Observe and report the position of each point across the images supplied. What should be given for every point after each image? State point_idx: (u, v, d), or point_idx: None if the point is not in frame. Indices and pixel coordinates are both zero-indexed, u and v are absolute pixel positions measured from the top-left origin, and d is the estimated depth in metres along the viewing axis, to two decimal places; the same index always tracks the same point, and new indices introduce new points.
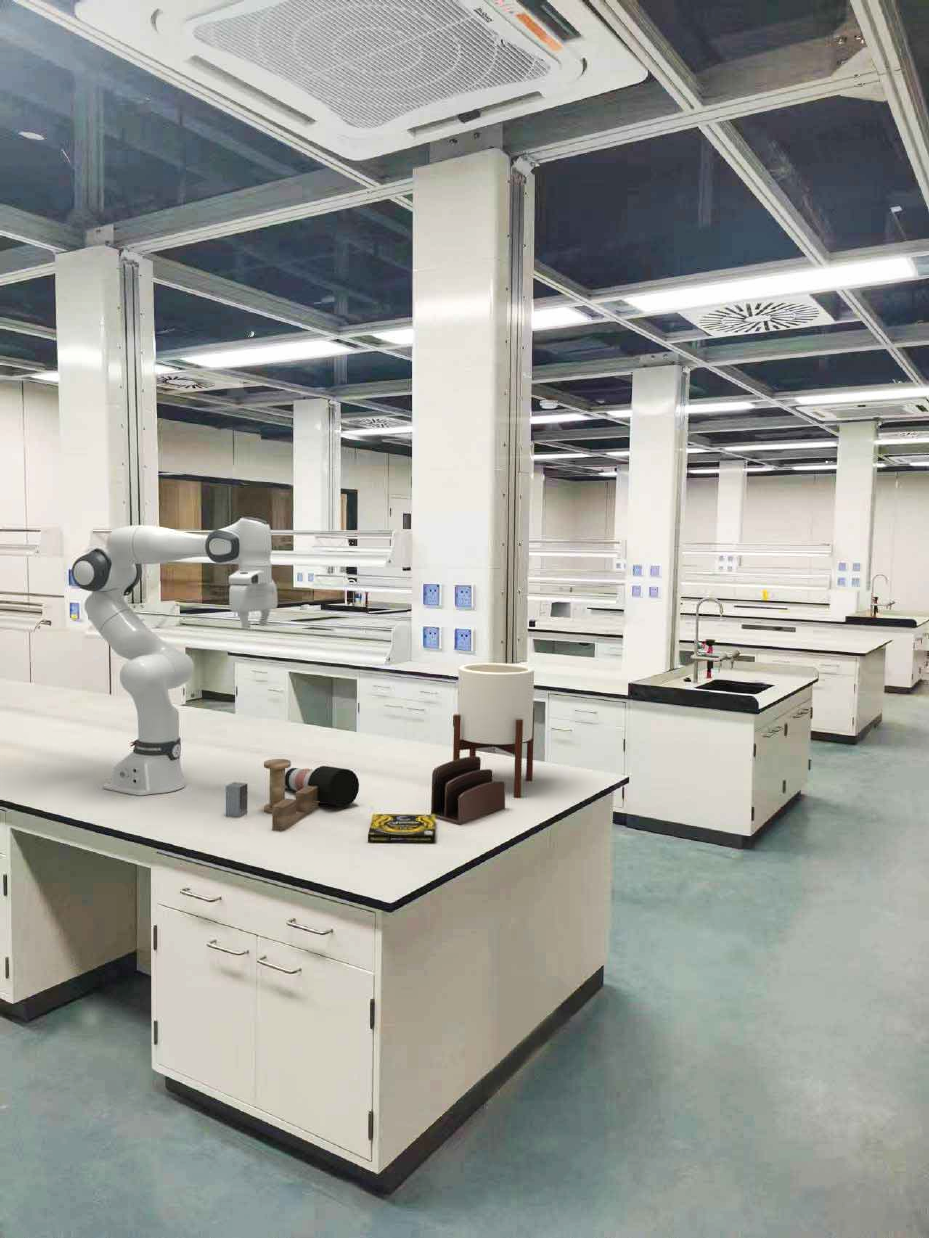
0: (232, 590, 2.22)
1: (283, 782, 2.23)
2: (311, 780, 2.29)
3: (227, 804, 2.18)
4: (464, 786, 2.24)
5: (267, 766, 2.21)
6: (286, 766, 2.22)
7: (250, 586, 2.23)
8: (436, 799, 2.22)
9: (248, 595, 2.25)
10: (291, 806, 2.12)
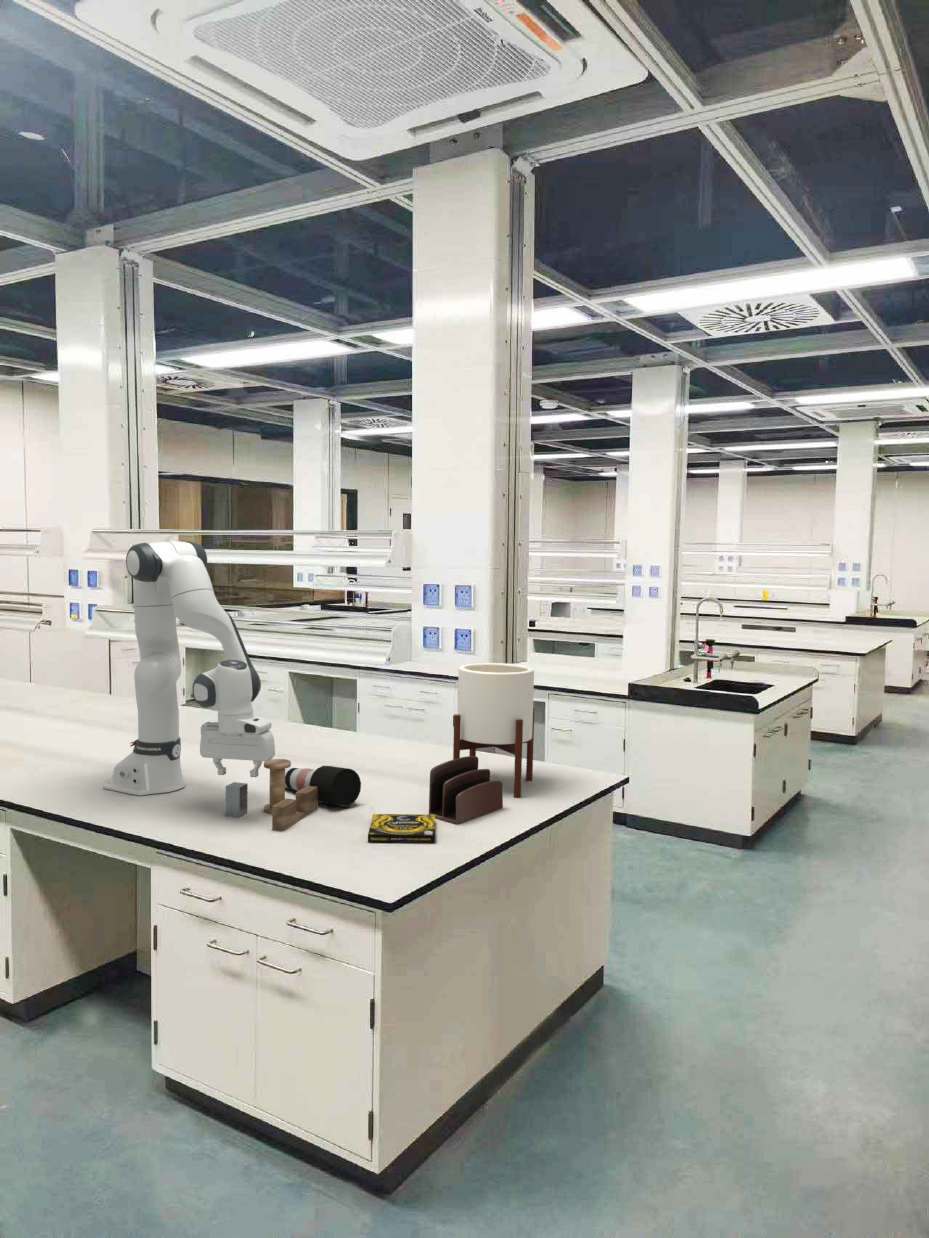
0: (267, 739, 2.14)
1: (283, 782, 2.23)
2: (313, 780, 2.29)
3: (227, 804, 2.18)
4: (462, 786, 2.24)
5: (267, 766, 2.21)
6: (286, 766, 2.22)
7: None
8: (434, 799, 2.22)
9: None
10: (291, 806, 2.12)
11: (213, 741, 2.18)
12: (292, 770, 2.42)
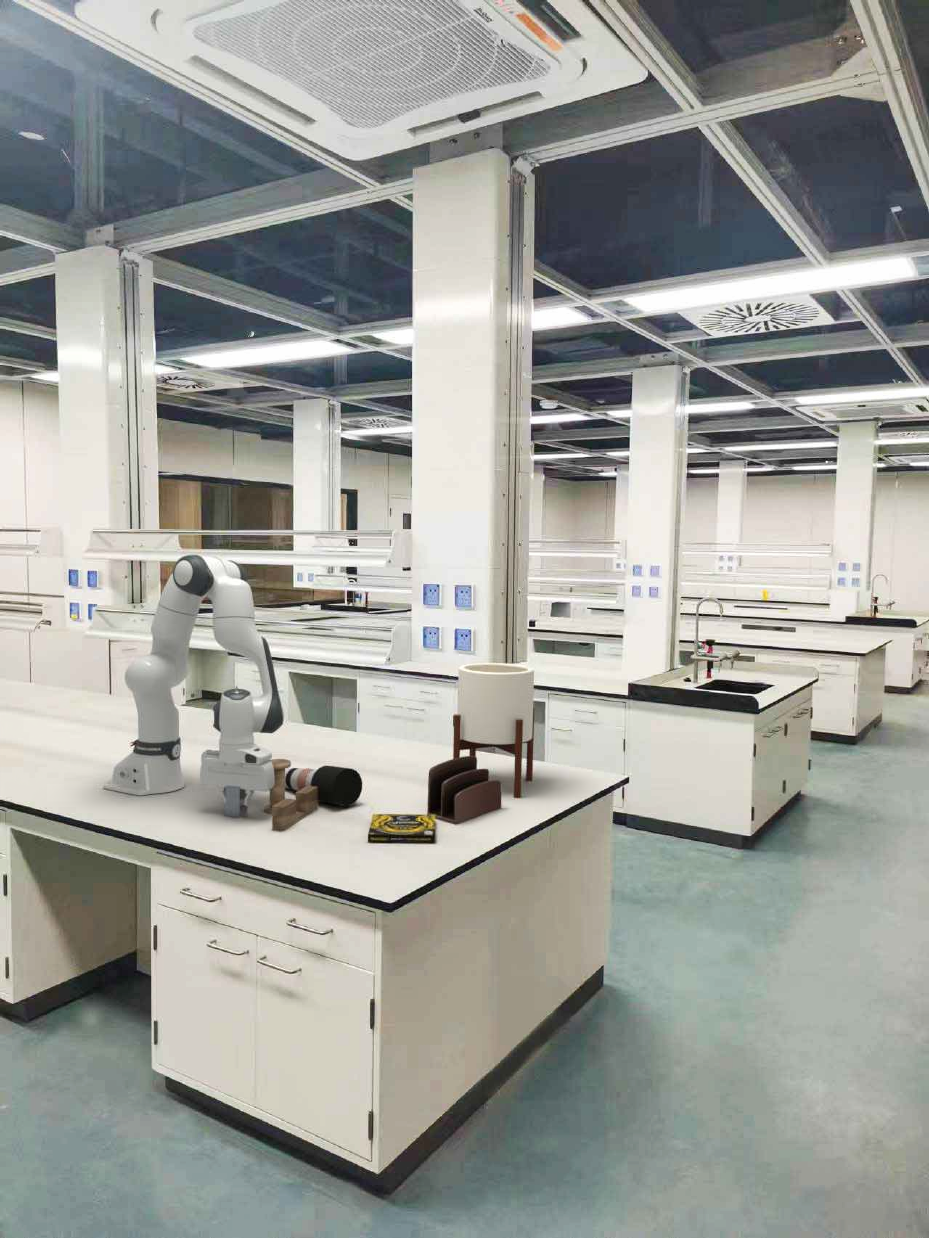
0: (267, 769, 2.15)
1: (283, 782, 2.23)
2: (314, 780, 2.30)
3: (227, 804, 2.18)
4: (460, 785, 2.24)
5: None
6: (286, 766, 2.22)
7: None
8: (432, 798, 2.23)
9: None
10: (291, 806, 2.12)
11: (213, 769, 2.19)
12: (292, 770, 2.42)
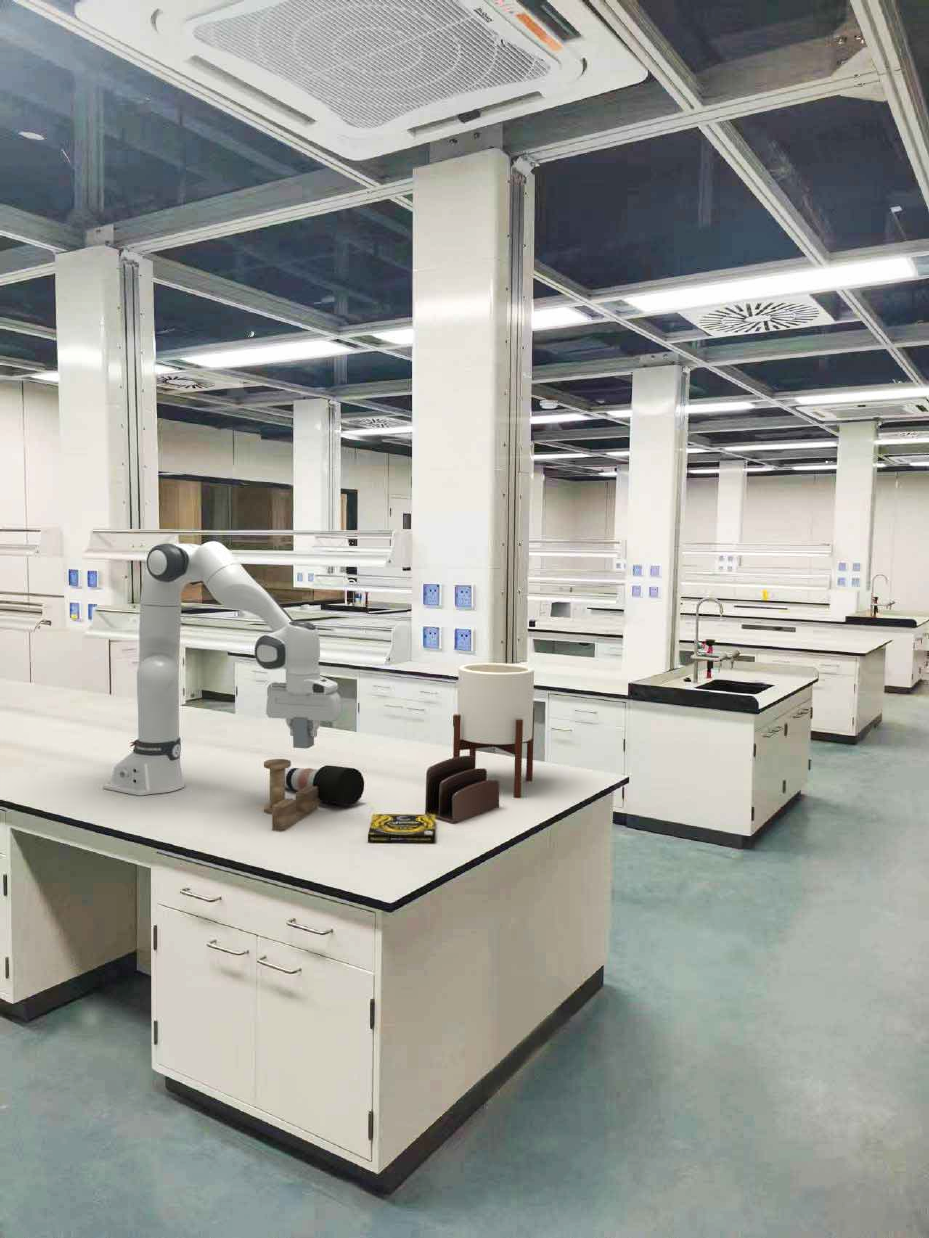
0: (334, 699, 2.16)
1: (283, 782, 2.23)
2: (316, 780, 2.30)
3: (294, 735, 2.19)
4: (458, 785, 2.24)
5: (267, 766, 2.21)
6: (286, 766, 2.22)
7: None
8: (430, 798, 2.23)
9: None
10: (291, 806, 2.12)
11: (280, 701, 2.20)
12: (293, 770, 2.42)
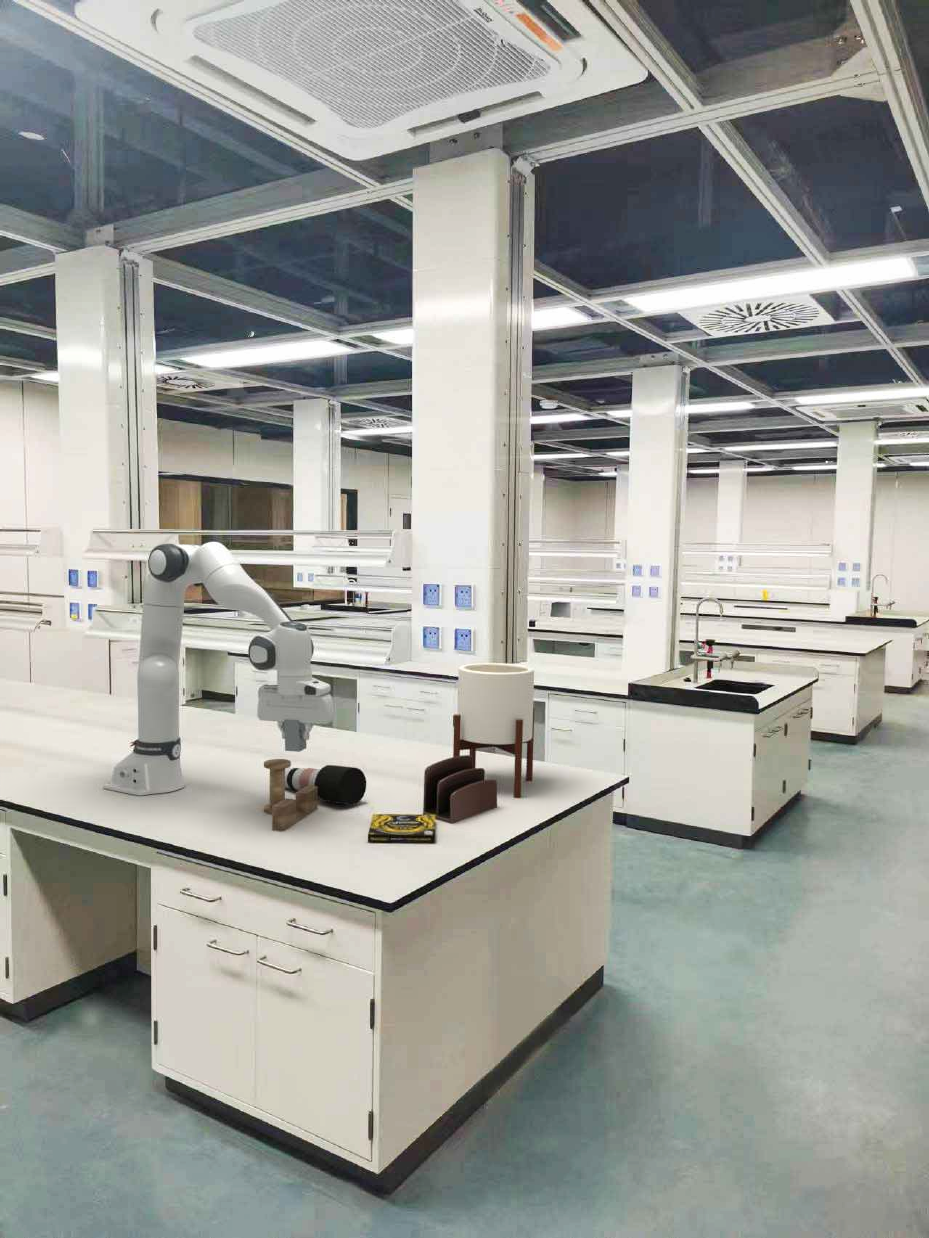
0: (327, 701, 2.11)
1: (283, 782, 2.23)
2: (319, 780, 2.30)
3: (286, 738, 2.14)
4: (456, 785, 2.25)
5: (267, 766, 2.21)
6: (286, 766, 2.22)
7: None
8: (428, 798, 2.23)
9: None
10: (291, 806, 2.12)
11: (271, 703, 2.15)
12: (294, 770, 2.42)
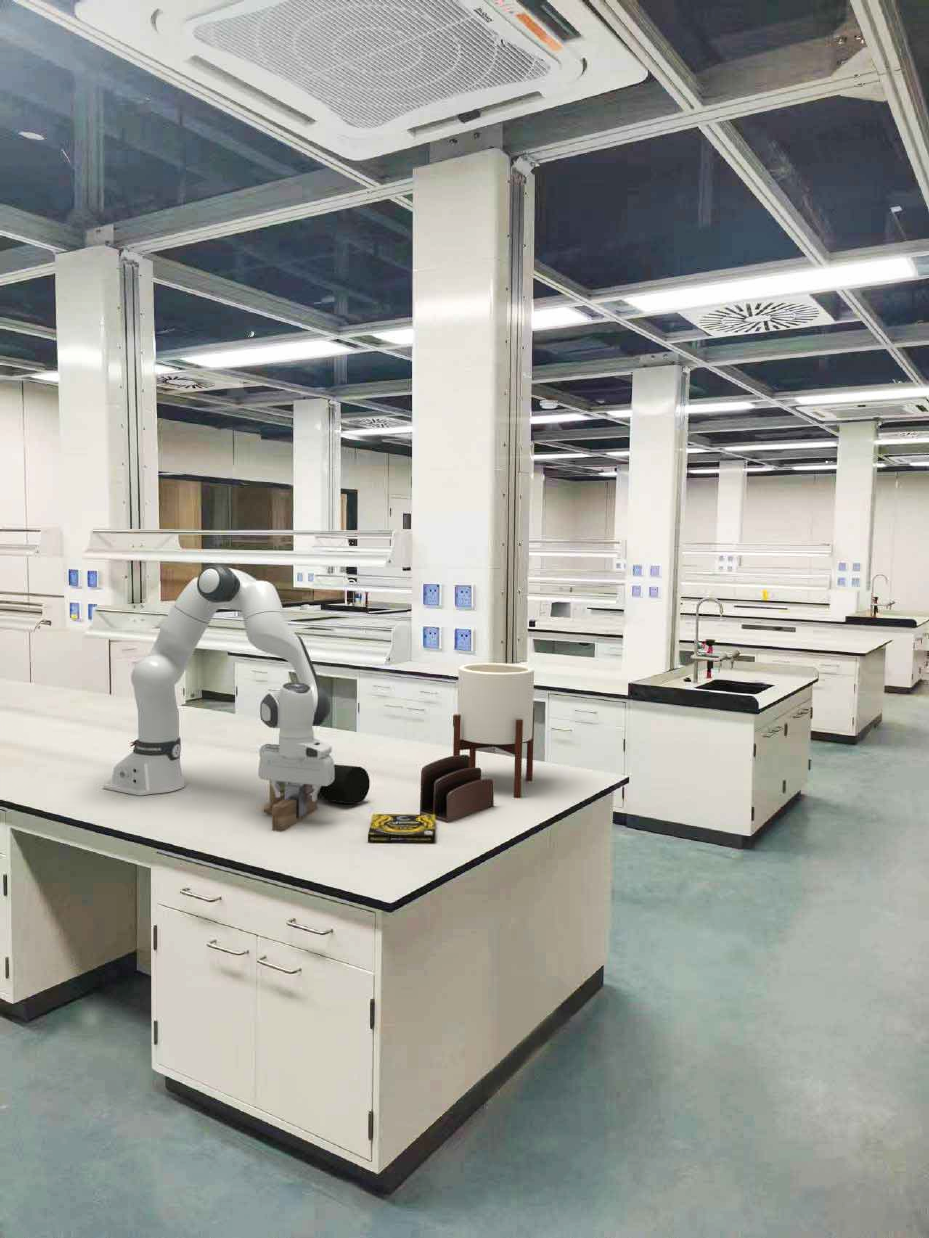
0: (328, 764, 2.13)
1: (283, 782, 2.23)
2: None
3: None
4: (453, 784, 2.25)
5: None
6: None
7: None
8: (425, 797, 2.24)
9: None
10: (291, 806, 2.12)
11: (273, 763, 2.17)
12: None
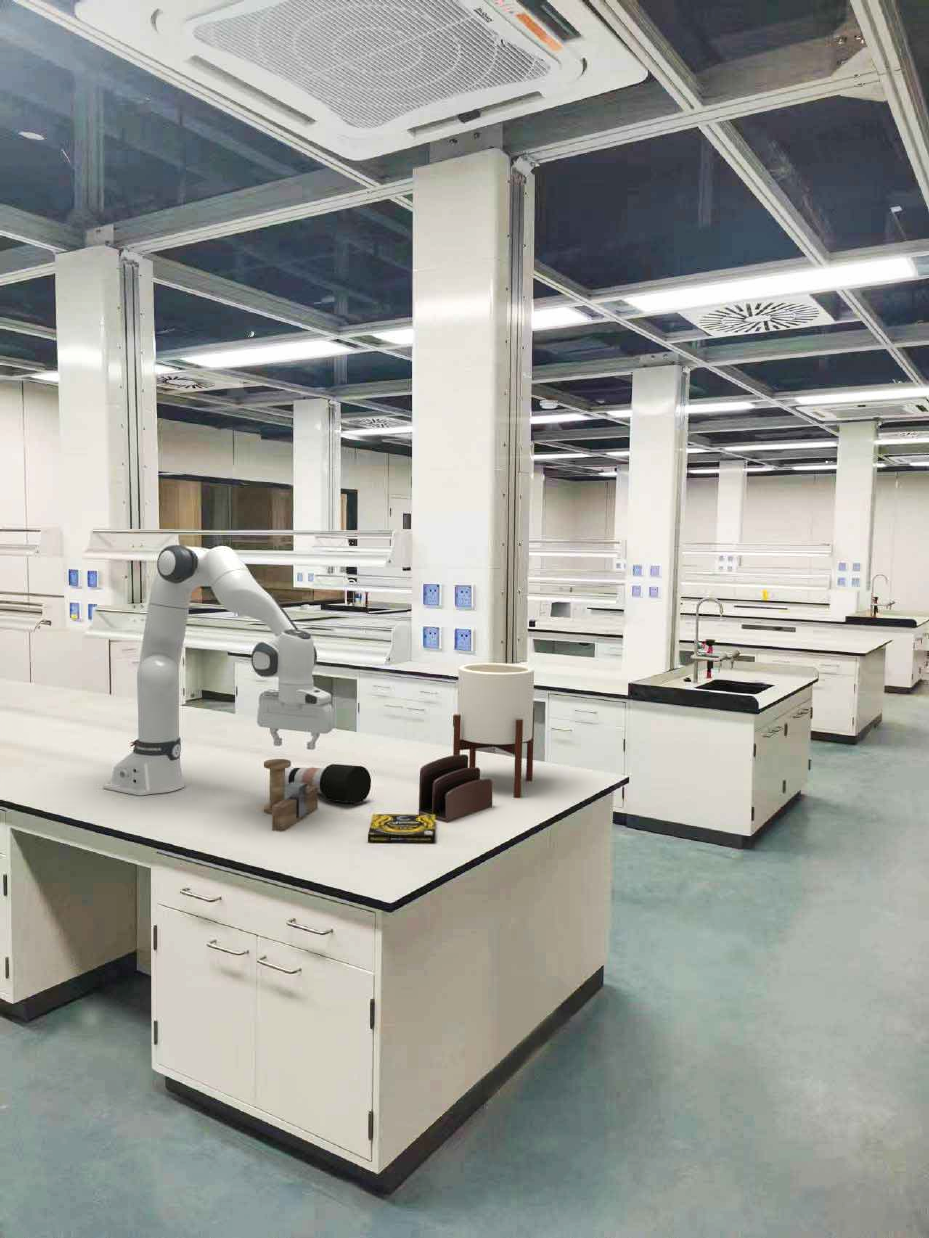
0: (327, 711, 2.11)
1: (283, 782, 2.23)
2: (324, 779, 2.31)
3: None
4: (452, 784, 2.25)
5: (267, 766, 2.21)
6: (286, 766, 2.22)
7: None
8: (424, 797, 2.24)
9: None
10: (291, 806, 2.12)
11: (272, 710, 2.15)
12: (295, 770, 2.42)
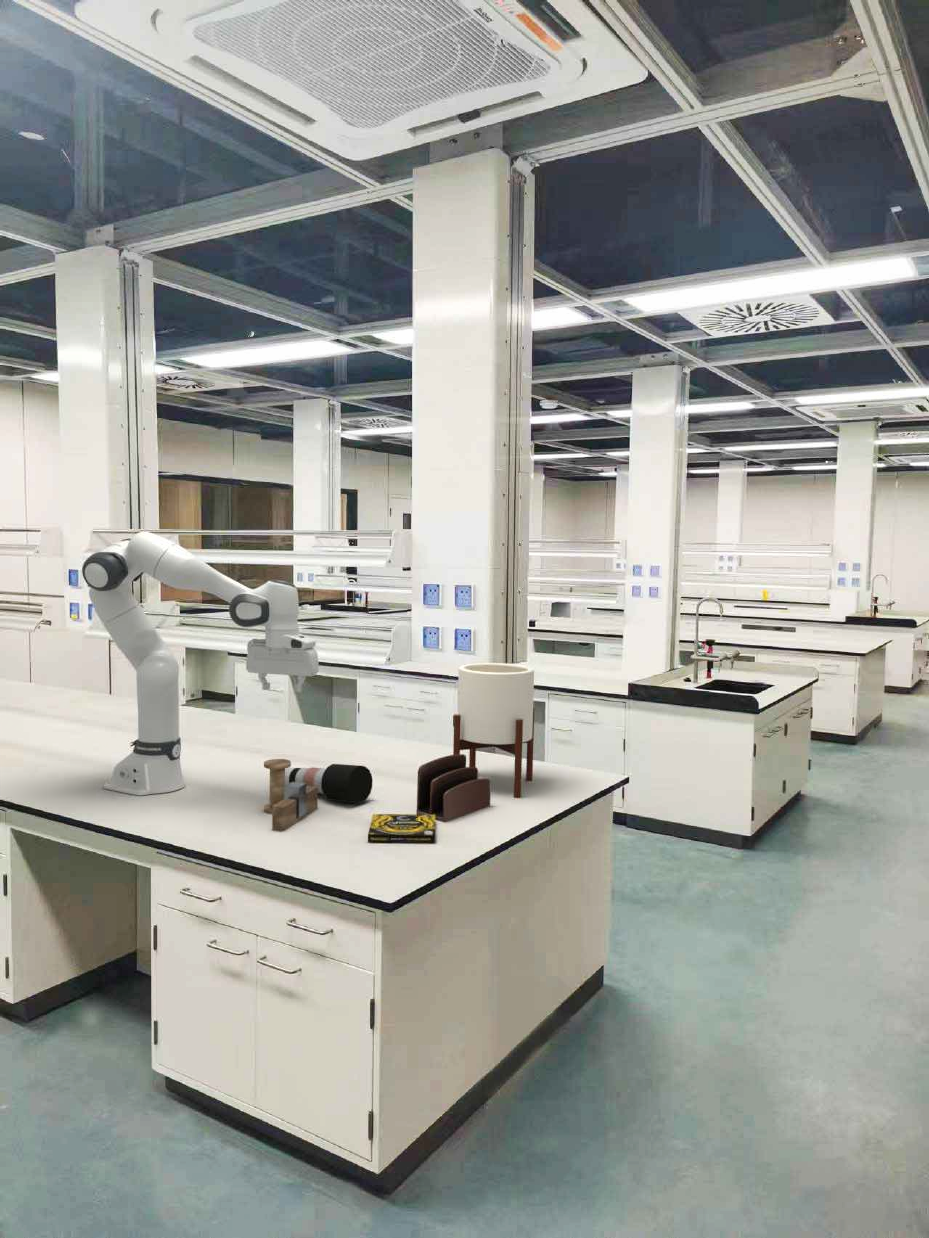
0: (312, 655, 2.24)
1: (283, 782, 2.23)
2: (325, 779, 2.31)
3: None
4: (449, 783, 2.26)
5: (267, 766, 2.21)
6: (286, 766, 2.22)
7: None
8: (422, 796, 2.24)
9: None
10: (291, 806, 2.12)
11: (259, 656, 2.28)
12: (296, 770, 2.42)
